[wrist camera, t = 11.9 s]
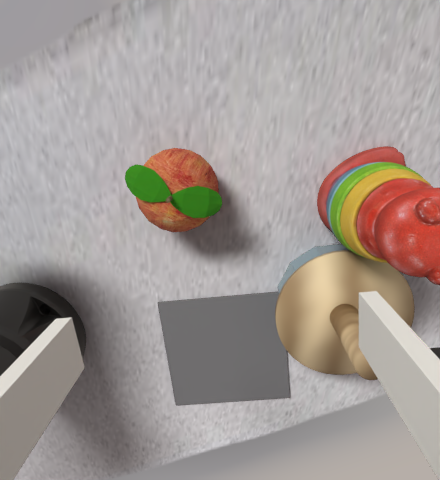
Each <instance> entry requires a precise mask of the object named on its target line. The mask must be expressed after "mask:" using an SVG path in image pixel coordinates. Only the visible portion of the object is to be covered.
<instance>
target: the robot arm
mask: <svg viewBox="0 0 440 480" xmlns="http://www.w3.org/2000/svg"><path fill="white" fill-rule="evenodd" d="M85 346H86V336H85V331H84V327H83V324H82V322H81V320H80V318H79V316H78V314H77V313H76V311H75V310H74V309H73V307H72V306H71V305H70V304H69V303H68V302H67V301H66V300H65V299H63V298H62V297H61V296H59V295H58V294H56V293H55V292H53V291H51V290H49V289H47V288H45V287H42V286H39V285H35V284H30V283H10V284H6V285H2V286H0V480H14V478H15V476H16V475H17V473H18V472H19V470H20V469H21V467H22V465H23V464H24V462H25V461H26V459H27V458H28V456H29V454H30V453H31V451H32V450H33V448H34V447H35V445H36V443H37V442H38V440H39V439H40V437H41V436H42V434H43V432H44V431H45V429H46V428H47V426H48V425H49V423H50V422H51V420H52V418H53V417H54V415H55V414H56V412H57V411H58V409H59V407H60V406H61V404H62V403H63V401H64V400H65V398H66V396H67V395H68V393H69V392H70V390H71V389H72V387H73V385H74V384H75V382H76V381H77V379H78V378H79V376H80V374H81V373H82V371H83V370H84V368H85V367H84V363H83V359H82V357H83V354H84V351H85ZM359 348H360V350H361V351H362V353H363V355H364V356H365V358H366V360H367V361H368V363H369V365H370V366H371V368H372V370H373V371H374V373H375V375H376V376H377V378H378V380H379V381H380V383H381V385H382V386H383V388H384V390H385V391H386V393H387V395H388V396H389V398H390V400H391V401H392V403H393V405H394V406H395V408H396V410H397V411H398V413H399V415H400V416H401V418H402V420H403V422H404V423H405V425H406V426H407V428H408V430H409V431H410V433H411V435H412V437H413V438H414V440H415V441H416V443H417V445H418V446H419V448H420V450H421V452H422V453H423V455H424V457H425V458H426V460H427V461H428V463H429V465H430V467H431V468H432V470H433V471H434V473H435V475H436V477H437V478H438V480H440V348H429V347H428V346H427V345H426V344H425V343H424V342H423V341H422V340H421V339H420V338H419V336H418V335H417V334H416V333H415V332H414V331H413V330H412V329H411V328H410V327H409V326H408V325H407V324H406V322H405V321H404V320H403V319H402V318H401V317H400V316H399V315H398V314H397V313H396V312H395V311H394V310H393V308H392V307H391V306H390V305H389V304H388V303H387V302H386V301H385V300H384V299H383V298H382V297H381V295H380V294H379V293H378V292H377V291H371V292H360V293H359Z"/></svg>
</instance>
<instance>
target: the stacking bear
mask: <svg viewBox="0 0 440 480" xmlns="http://www.w3.org/2000/svg"><path fill="white" fill-rule="evenodd" d="M317 206H318V212H319V215H320V217H321V219H322V221H323V223H324V224H325V225H326V226H327V227H328V228H329V229H330V230H331V231H332V232H333V234H334V235H335V237H336V238H337V239H338V240H339V242H340V243H342V244H343V245H344V246H345V247H346V248H347V249H349V250H350V251H352V252H354V253H355V254H357V255H360V256H362V257H365V258H368V259H371V260H374V261H378V262H384V263H389V264H390V265H391V266H392V267H393V268H395V269H396V270H398V271H400V272H402V273H404V274H407V275H411V276H415V277H427V278H428V279H429V281H430V282H432V283H434V284H438V285H440V188H433V187H432V186H431V185H430V184H429V183H428V182H427V181H426V180H425V179H424V178H423V177H422V176H420V175H419V174H418V173H416V172H415V171H413V170H411V169H410V168H407V167H406V165H405V161H404V155H403V154H402V153H400V152H398V150H397V149H396V148H393V147H378V148H373V149H370V150H366V151H363V152H361V153H358V154H356V155H354V156H352V157H350V158H349V159H347V160H345V161H344V162H342V163H341V164H340V165H338V166H337V167H336V168H335V169H334V170H333V171H332V172H331V173H330V174H329V175H328V176H327V177H326V178H325V180H324V181H323V183H322V185H321V187H320V190H319V193H318V199H317Z"/></svg>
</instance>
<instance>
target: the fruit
mask: <svg viewBox="0 0 440 480" xmlns="http://www.w3.org/2000/svg"><path fill="white" fill-rule="evenodd" d="M125 180H126V184H127V187H128V188H129V189H130V191H131V192H132V194H133V195H135V196H136V199H137V202H138V205H139V208H140V210H141V211H142V212H143V214H144V215H145V217H146V218H147V219H148V221H150V222H151V223H153V224H154V225H156V226H158V227H159V228H161V229H163V230H167V231H171V232H183V231H188V230H191V229H193V228H195V227H198V226H200V225H201V224H203V223H204V222H205V221H206V220H207V219H208V218H209V216H212V215H214V214H216V213H217V212H218V211H219V210H220V208H221V206H222V199H221V197H220V195H219V189H218V180H217V177H216V175H215V172H214V171H213V169H212V167H211V166H210V164H209V163H208V162H207V161H206V160H205V159H204V158H202V157H201V156H200V155H198V154H196V153H194V152H192V151H190V150H186V149H178V148H173V149H168V150H163V151H161V152H159V153H157V154H155V155H153V156H152V157H151V158H150V159H149V160H148V161H147V162H146V163H145V164H144V166H141V165H134V166H131V167H130V168H129V169H128V170H127V171H126V175H125Z"/></svg>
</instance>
